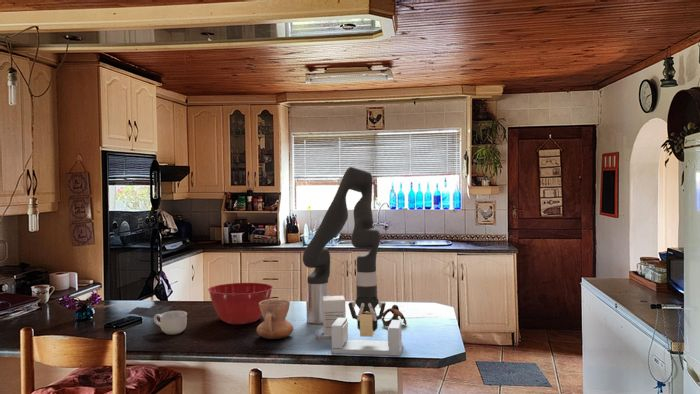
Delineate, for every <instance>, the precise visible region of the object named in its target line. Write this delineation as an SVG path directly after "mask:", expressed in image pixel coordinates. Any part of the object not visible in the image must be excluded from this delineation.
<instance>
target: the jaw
mask: <svg viewBox="0 0 700 394" xmlns="http://www.w3.org/2000/svg"><path fill="white" fill-rule="evenodd" d="M348 324H349V323H348V318H347V317H346V318H337V319H336V321H335V322H334V323H333V324H332V326H331V327H332V336H325V335H324V334H323V335H321V334H320V335H318V334H317V335H315V339H316V340H325V341H326V340H327V341H328V340H329V341H331V349H332V348H342V347H343V345H344V344H345V342H346V340H348V337H349V331H348V330H349V327H348V326H349V325H348Z"/></svg>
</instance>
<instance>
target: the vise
mask: <svg viewBox="0 0 700 394" xmlns="http://www.w3.org/2000/svg"><path fill="white" fill-rule="evenodd" d="M402 337H403V336H402V319H399V320H392V321H391V323H390V325H389V326H388V328H387V340H371V339H370V340H367V339H365V340H364V339H362V340H361V339H347V340H346V342H345V344H344V345H343V347H342V348H332V347H331V353H332V354H348V355H349V354H351V355H354V354H355V355H374V356H375V355H378V356H401V354H402V351H403V347H404V341H403V339H402Z"/></svg>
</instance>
